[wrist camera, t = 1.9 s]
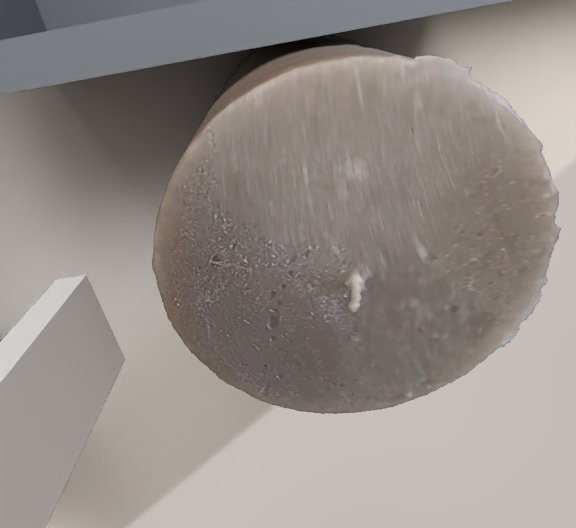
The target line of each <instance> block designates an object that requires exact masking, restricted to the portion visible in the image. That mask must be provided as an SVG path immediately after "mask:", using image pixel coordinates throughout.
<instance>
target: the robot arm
mask: <svg viewBox="0 0 576 528" xmlns="http://www.w3.org/2000/svg"><path fill="white" fill-rule="evenodd" d="M124 361H125V358H124V356H123V354H122V352H121V349H120V347H119V345H118V343H117V341H116V339H115V336H114V334H113V332H112V330H111V328H110V326H109V323H108V321H107V319H106V317H105V315H104V313H103V310H102V308H101V306H100V304H99V302H98V300H97V297H96V295H95V293H94V291H93V289H92V287H91V284H90V282H89V280H88V278H87V276H86V275H82V276H75V277H69V278H62V279H56V280H55V281H54V283H53V284H52V285H51V286H50V287H49V288H48V289H47V290H46V291H45V293H44V294H43V295H42V296H41V297H40V298H39V299H38V300H37V301H36V303H35V304H34V305H33V306H32V307H31V308H30V309H29V310H28V311H27V313H26V314H25V315H24V316H23V317H22V318H21V319H20V320H19V321H18V323H17V324H16V325H15V326H14V327H13V328H12V329H11V330H10V331H9V333H8V334H7V335H6V336H5V337H4V338H3V339H2V340H1V341H0V528H46V526H47V524H48V522H49V519H50V517H51V515H52V513H53V511H54V509H55V507H56V505H57V503H58V500H59V498H60V496H61V494H62V492H63V490H64V488H65V486H66V484H67V481H68V479H69V477H70V475H71V473H72V471H73V469H74V467H75V465H76V462H77V460H78V458H79V456H80V454H81V452H82V450H83V448H84V445H85V443H86V441H87V439H88V437H89V435H90V433H91V431H92V429H93V426H94V424H95V422H96V420H97V418H98V416H99V414H100V412H101V410H102V407H103V405H104V403H105V401H106V399H107V397H108V395H109V393H110V391H111V388H112V386H113V384H114V382H115V380H116V378H117V376H118V374H119V371H120V369H121V367H122V365H123V363H124Z"/></svg>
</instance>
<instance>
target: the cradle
mask: <svg viewBox="0 0 576 528" xmlns="http://www.w3.org/2000/svg"><path fill="white" fill-rule="evenodd" d="M507 1H513V0H0V95H3V94H8V93H14V92H19V91H25V90H30V89H36V88H41V87H46V86H52V85H57V84H63V83H68V82H74V81H79V80H84V79H90V78H95V77H101V76H106V75H112V74H117V73H122V72H128V71H133V70H139V69H144V68H149V67H155V66H160V65H166V64H171V63H177V62H182V61H187V60H193V59H198V58H204V57H209V56H215V55H220V54H225V53H231V52H236V51H242V50H247V49H252V48H258V47H263V46H269V45H274V44H280V43H285V42H290V41H296V40H301V39H307V38H312V37H318V36H323V35H328V34H334V33H339V32H345V31H350V30H356V29H361V28H366V27H372V26H377V25H383V24H388V23H393V22H399V21H404V20H410V19H415V18H421V17H426V16H431V15H437V14H442V13H448V12H453V11H459V10H464V9H469V8H475V7H480V6H486V5H491V4H497V3H502V2H507Z"/></svg>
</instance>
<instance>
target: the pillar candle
mask: <svg viewBox="0 0 576 528" xmlns="http://www.w3.org/2000/svg"><path fill="white" fill-rule="evenodd" d="M471 68H472V67H466V68H463V67H461V66H459V65H458V64H457V63H456V62H455V60H454V59H448V58H442V57H438V56H431V55H427V56H418V57H417V56H416V57H415V58H411V57H407V56H402V55H397V54H393V53H390V52H386V51H382V50H379V49H377V48H373V47H370V46H368V45H365V44H364V43H360V42H357V41H352V40H345V39H341V38H337V37H330V36H328V35H323V36H318V37H312V38H307V39H301V40H296V41H290V42H285V43H280V44H274V45H269V46H263V47H260V48H258V49H257V50H255V51H254V52H253V53H252V54H251V55H250V56H249V57H248V58H246V59H245V60H244V61H243V62H242V63H241V64H240V66H239V67H238V68H237V69H236V70H235V72H234V74H233V75H232V76H231V77H230V79H229V81H228V82H227V84H226V85H225V87H224V88H223V90H222V91H221V93H220V95H219V96H218V97H217V98H216V100H215V101H214V103H213V105H212V106H211V108H210V109H209V111H208V113H207V115H206V117H205V119H204V120H203V121H202V123H201V125H200V126H199V128H198V130H197V131H196V133H195V135H194V136H193V138H192V139H191V141H190V143H189V145H188V146H187V148H186V150H185V152H184V153H183V155H182V157H181V158H180V160H179V161H178V163H177V165H176V167H175V169H174V171H173V172H172V175H171V177H170V179H169V182H168V185H167V187H166V190H165V193H164V196H163V199H162V202H161V206H160V209H159V213H158V216H157V221H156V228H155V235H154V252H153V260H152V266H153V270H154V273H155V275H156V279H157V285H158V288H159V291H160V294H161V297H162V301H163V303H164V308H165V310H166V312H167V316H168V319H169V320H170V321H171V322H172V326H173V328H174V329H175V330H176V332H177V333H178V334H179V336H180V337H181V339H182V340H183V342H184V344H185V345H186V346H187V347H188V348H189V350H190V351H191V353H193V354H195V355H196V357H197V358H198V359H199V360H200V361H201V362H203V363H204V364H205V365H206V366H208V367H209V369H210V370H211V371H213V372H214V373H216V375H217V376H218V377H219V378H220V379H222V380H223V381H225V382H226V383H228V384H229V385H232V386H234V387H236V388H238V389H241V390H243V391H244V392H246V393H247V394H249V395H251V396H253V397H255V398H257V399H259V400H261V401H264V402H267V403H270V404H273V405H277V406H280V407H284V408H290V409H294V410H298V411H306V412H314V413H322V414H324V413H334V414H336V413H351V412H353V413H354V412H362V411H368V410H369V411H370V410H377V409H383V408H388V407H393V406H396V405H398V404H402V403H404V402H407V401H410V400H413V399H415V398H418V397H421V396H424V395H427V394H428V393H430V392H433V391H435V390H437V389H438V388H440V387H443V386H445V385H447V384H448V383H452V382H453V381H455V380H456V379H458V378H460V377H461V376H463V375H465V374H467V373H468V372H469V371H471V370H472V369H473V368H474V367H475V366H476V365H477V364H479V363H481V362H482V361H484V360H485V359H486V358H487V357H488V356H489V355H490V354H492V353H493V352H494V351H495V350H497V349H498V348H499V347H503V346H505V344H507V343H509V342H510V341H511V340H512V339H513V338H514V337H515V336H516V334H517V331H518V330H519V325H520V323H521V322H523V321H524V320H526V319H527V318H528V316H529V315H530V314H532V313H533V311H534V309H535V306H536V305H537V304H538V303H539V301H540V299H541V296H542V293H541V288H542V287H543V286H544V285H545V284H546V283H547V281H548V279H547V277H546V272H547V269H548V266H549V260H550V258H551V254H552V252H553V249H554V245H555V243H556V242H557V240H558V238H559V233H560V230H561V228H560V227H557V225H556V224H555V218H556V217H555V213H556V210H557V207H558V204H559V195H558V193H559V192H558V190H557V189H556V187H555V186H554V184H553V181H552V178H551V174H550V170H549V167H548V166H547V164H546V162H545V159H544V157H543V155H542V153H541V151H542V148H543V145H542V143H541V142H540V141H539V140H538V139H537V138H536V137H535V136H534V134H533V133H532V132H531V131H530V129H529V128H528V127H527V125H526V124H525V122H524V120H523V119H522V118H520V117H519V116H518V115H517V114H516V112H515V111H514V110H513V108H512V106H511V105H510V104H509V103H508V102H507V100H506V99H505V98H502V97H501V96H499V95H498V94H497V93H495V92H493V91H492V90H490V89H489V88H487V87H486V86H484V85H483V84H481V83H479V82H477V81H474V80H473V79H472V78H471V76H470V70H471Z"/></svg>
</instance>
